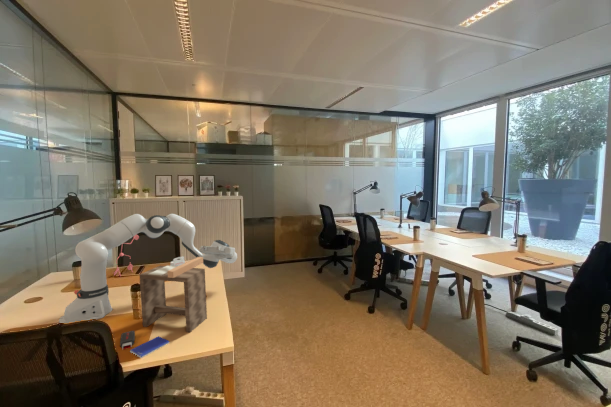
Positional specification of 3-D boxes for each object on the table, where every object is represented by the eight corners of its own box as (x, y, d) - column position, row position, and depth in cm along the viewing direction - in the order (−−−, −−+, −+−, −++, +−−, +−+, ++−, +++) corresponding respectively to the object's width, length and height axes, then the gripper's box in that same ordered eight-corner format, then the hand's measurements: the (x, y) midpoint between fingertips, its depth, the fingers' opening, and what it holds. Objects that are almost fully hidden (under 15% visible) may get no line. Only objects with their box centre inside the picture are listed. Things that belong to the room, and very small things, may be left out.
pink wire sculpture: (144, 269, 231) (140, 225, 227) (109, 280, 208) (104, 231, 205) (132, 267, 238) (128, 224, 235) (97, 277, 215) (92, 229, 212)
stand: (190, 332, 136) (187, 277, 134) (142, 326, 143) (139, 273, 140) (206, 318, 150) (204, 267, 148) (163, 313, 156) (160, 264, 154)
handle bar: (173, 277, 135) (173, 271, 134) (167, 277, 135) (167, 271, 135) (203, 262, 158) (203, 257, 158) (198, 262, 159) (198, 256, 158)
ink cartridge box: (182, 274, 218) (181, 255, 217) (185, 275, 215) (184, 256, 214) (170, 277, 211) (169, 257, 210) (174, 279, 208) (173, 258, 207)
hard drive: (140, 355, 117) (169, 340, 128) (129, 349, 122) (158, 335, 132) (141, 359, 118) (169, 344, 128) (130, 353, 122) (158, 339, 132)
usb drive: (134, 334, 136) (134, 329, 136) (134, 347, 126) (133, 341, 125) (121, 337, 134) (121, 332, 133) (119, 351, 123) (119, 345, 123)
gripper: (207, 246, 183) (195, 241, 171) (237, 248, 179) (227, 242, 166) (205, 257, 181) (192, 252, 169) (235, 258, 176) (225, 253, 164)
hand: (210, 247), depth 167 cm, fingers open, 8 cm apart
